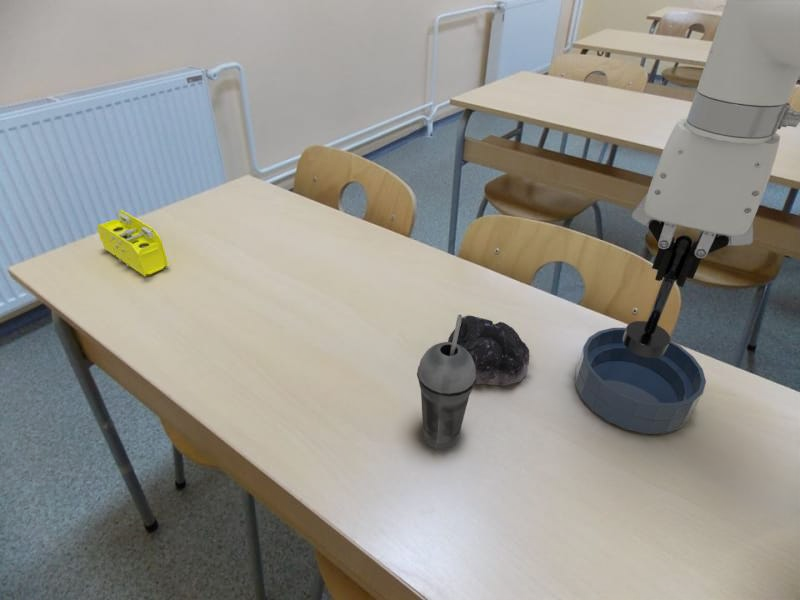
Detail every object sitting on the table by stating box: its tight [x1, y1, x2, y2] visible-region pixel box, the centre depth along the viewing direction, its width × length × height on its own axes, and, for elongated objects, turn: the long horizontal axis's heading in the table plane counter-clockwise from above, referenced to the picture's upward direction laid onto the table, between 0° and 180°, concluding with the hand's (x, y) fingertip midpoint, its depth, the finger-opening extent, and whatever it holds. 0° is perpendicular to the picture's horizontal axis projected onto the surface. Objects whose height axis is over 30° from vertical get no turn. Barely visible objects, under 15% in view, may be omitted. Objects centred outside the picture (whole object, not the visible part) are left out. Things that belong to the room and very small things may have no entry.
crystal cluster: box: [447, 315, 530, 387], centre depth 79 cm, size 13×14×10 cm
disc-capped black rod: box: [623, 234, 693, 358], centre depth 61 cm, size 5×5×16 cm
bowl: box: [574, 327, 707, 435], centre depth 75 cm, size 16×16×6 cm
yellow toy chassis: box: [96, 209, 170, 277], centre depth 102 cm, size 16×6×8 cm, turn 51°
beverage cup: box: [416, 314, 476, 451], centre depth 64 cm, size 7×7×20 cm
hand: (670, 277), depth 60 cm, fingers closed on disc-capped black rod
